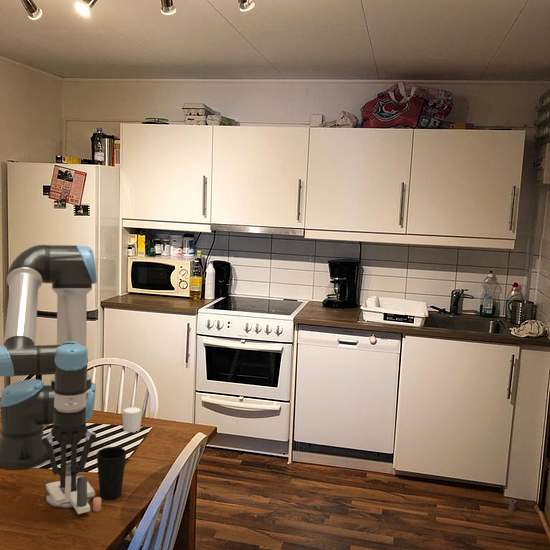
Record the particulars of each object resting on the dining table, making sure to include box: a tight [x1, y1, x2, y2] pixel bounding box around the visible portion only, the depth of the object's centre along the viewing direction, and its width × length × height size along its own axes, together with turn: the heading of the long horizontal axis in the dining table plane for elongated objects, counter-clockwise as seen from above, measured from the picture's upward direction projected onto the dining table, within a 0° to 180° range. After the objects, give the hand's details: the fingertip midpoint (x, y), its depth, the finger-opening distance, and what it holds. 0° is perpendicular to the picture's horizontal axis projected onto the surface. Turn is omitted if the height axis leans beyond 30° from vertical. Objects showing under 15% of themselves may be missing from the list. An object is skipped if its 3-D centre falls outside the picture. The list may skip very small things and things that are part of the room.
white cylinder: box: [121, 406, 143, 433], centre depth 207 cm, size 7×7×7 cm
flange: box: [45, 475, 96, 515], centre depth 157 cm, size 17×10×8 cm, turn 35°
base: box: [45, 461, 94, 509], centre depth 160 cm, size 12×12×9 cm
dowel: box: [92, 496, 102, 513], centre depth 155 cm, size 2×2×3 cm
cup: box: [96, 446, 127, 501], centre depth 162 cm, size 8×8×12 cm
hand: (67, 498), depth 150 cm, fingers closed
